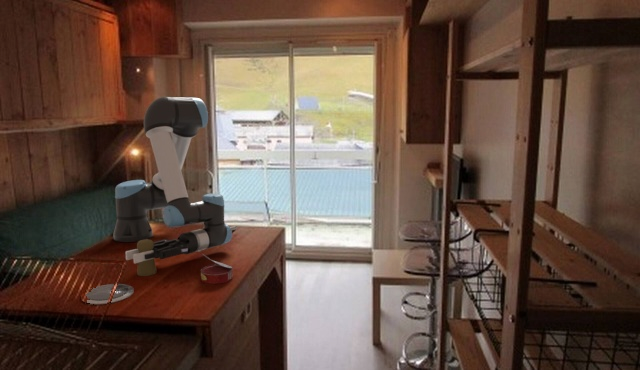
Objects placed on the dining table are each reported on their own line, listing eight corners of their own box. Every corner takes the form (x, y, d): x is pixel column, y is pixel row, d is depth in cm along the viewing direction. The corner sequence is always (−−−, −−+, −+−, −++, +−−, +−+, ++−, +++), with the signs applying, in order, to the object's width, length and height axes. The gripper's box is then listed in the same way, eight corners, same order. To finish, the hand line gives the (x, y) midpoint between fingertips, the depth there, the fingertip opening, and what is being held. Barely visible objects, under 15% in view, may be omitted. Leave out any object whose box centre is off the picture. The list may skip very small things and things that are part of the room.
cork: (160, 270, 154) (158, 238, 152) (148, 276, 148) (146, 243, 147) (145, 268, 156) (143, 236, 154) (132, 274, 150) (130, 241, 149)
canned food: (206, 288, 152) (206, 257, 155) (236, 285, 151) (235, 255, 154) (194, 284, 141) (194, 251, 144) (227, 281, 141) (227, 248, 144)
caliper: (225, 240, 190) (225, 226, 189) (223, 240, 190) (222, 225, 189) (237, 228, 210) (237, 214, 209) (235, 228, 210) (234, 214, 209)
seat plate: (71, 295, 133) (71, 292, 133) (118, 282, 144) (118, 278, 144) (94, 309, 125) (94, 305, 124) (143, 293, 135) (142, 290, 135)
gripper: (207, 256, 160) (145, 275, 142) (179, 247, 171) (117, 263, 153) (207, 235, 159) (143, 251, 141) (178, 227, 170) (115, 241, 152)
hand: (130, 257), depth 147 cm, fingers closed on cork, 4 cm apart
